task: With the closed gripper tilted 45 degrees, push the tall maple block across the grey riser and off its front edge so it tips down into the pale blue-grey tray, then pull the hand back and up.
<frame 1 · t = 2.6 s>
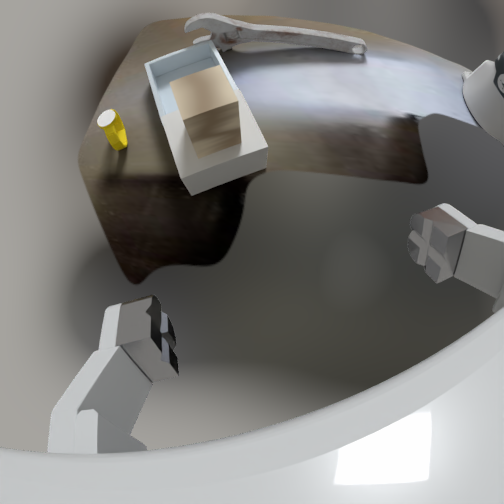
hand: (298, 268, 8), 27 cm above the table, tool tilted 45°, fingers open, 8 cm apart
tray: (193, 93, 38), on the table
riser: (217, 152, 37), on the table
block: (212, 132, 31), point 6 cm above the table, touching riser
watch: (122, 138, 38), on the table
wrench: (280, 47, 40), on the table
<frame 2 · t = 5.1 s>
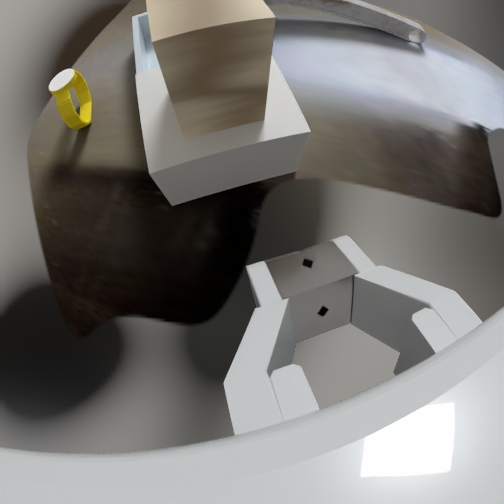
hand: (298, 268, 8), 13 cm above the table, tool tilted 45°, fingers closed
tray: (194, 58, 25), on the table
riser: (219, 140, 23), on the table
block: (215, 100, 17), point 6 cm above the table, touching riser
watch: (86, 115, 24), on the table
wrench: (318, 20, 27), on the table
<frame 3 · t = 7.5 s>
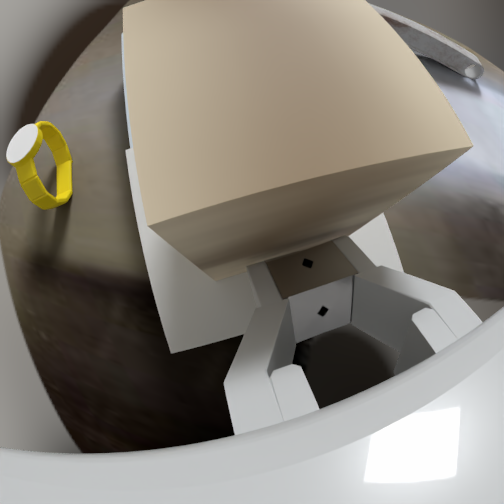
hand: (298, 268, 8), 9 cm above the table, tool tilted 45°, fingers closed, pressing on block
riser: (255, 238, 17), on the table
block: (259, 201, 12), point 6 cm above the table, touching gripper
watch: (66, 180, 18), on the table
wrench: (366, 43, 22), on the table
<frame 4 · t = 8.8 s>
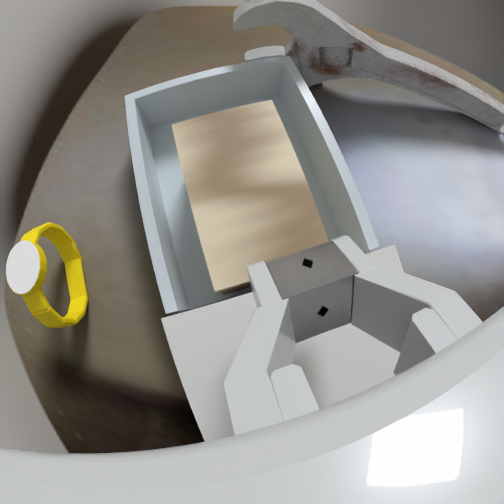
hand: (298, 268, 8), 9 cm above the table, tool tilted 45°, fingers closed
tray: (238, 184, 18), on the table
riser: (294, 361, 16), on the table
block: (270, 278, 14), point 3 cm above the table, tilted 90°, touching tray
watch: (78, 280, 17), on the table
wrench: (406, 99, 20), on the table
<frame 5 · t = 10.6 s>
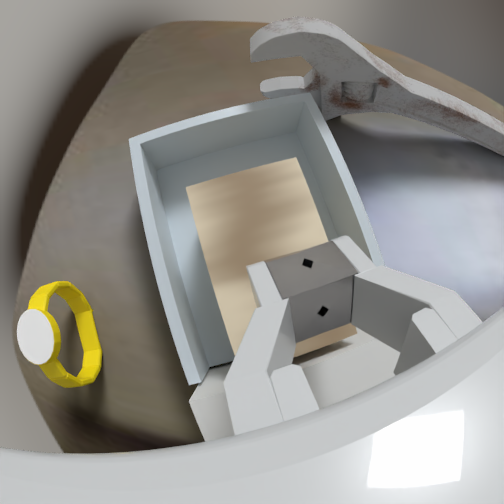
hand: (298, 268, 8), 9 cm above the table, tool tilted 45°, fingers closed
tray: (254, 236, 18), on the table
riser: (309, 410, 16), on the table
block: (291, 346, 14), point 3 cm above the table, tilted 90°, touching tray
watch: (90, 331, 17), on the table
wrench: (424, 131, 20), on the table
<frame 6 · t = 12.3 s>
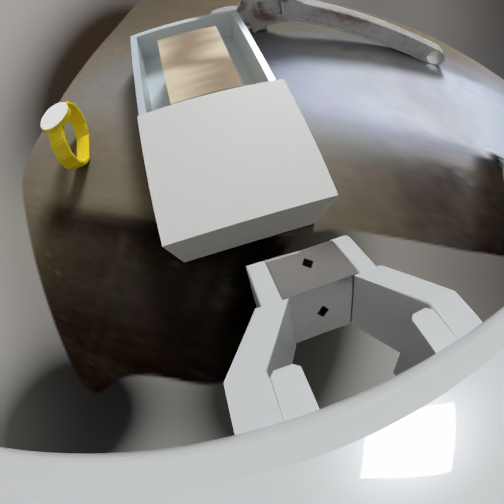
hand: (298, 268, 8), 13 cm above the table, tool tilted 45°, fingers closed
tray: (200, 85, 24), on the table
riser: (232, 186, 22), on the table
block: (210, 114, 20), point 3 cm above the table, tilted 90°, touching tray
watch: (84, 150, 23), on the table
wrench: (334, 38, 26), on the table
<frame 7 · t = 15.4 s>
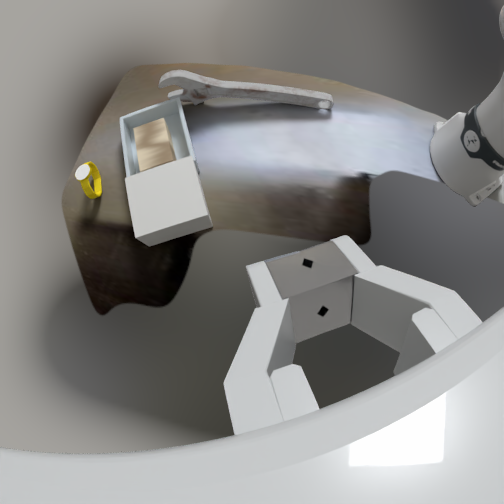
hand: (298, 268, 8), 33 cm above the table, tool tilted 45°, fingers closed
tray: (160, 148, 45), on the table
riser: (173, 208, 43), on the table
block: (160, 172, 41), point 3 cm above the table, tilted 90°, touching tray
watch: (98, 186, 44), on the table
wrench: (249, 102, 47), on the table
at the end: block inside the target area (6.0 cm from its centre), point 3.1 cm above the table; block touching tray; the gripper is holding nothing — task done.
